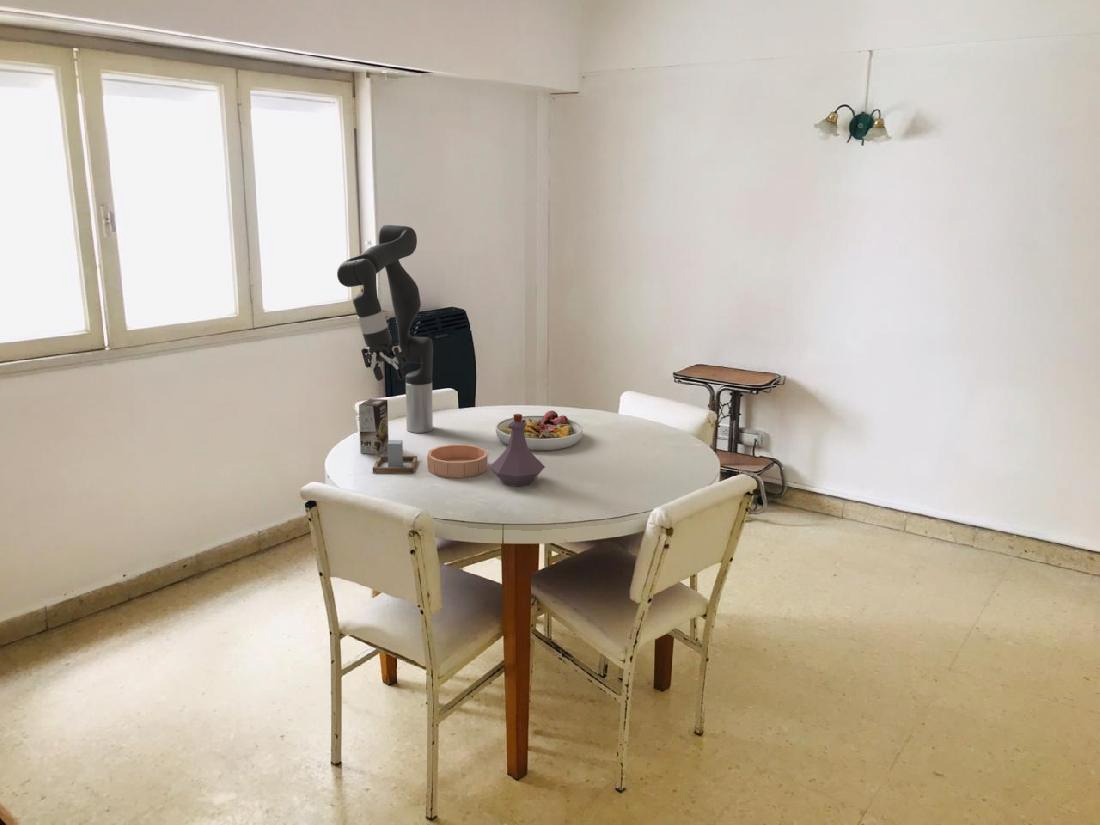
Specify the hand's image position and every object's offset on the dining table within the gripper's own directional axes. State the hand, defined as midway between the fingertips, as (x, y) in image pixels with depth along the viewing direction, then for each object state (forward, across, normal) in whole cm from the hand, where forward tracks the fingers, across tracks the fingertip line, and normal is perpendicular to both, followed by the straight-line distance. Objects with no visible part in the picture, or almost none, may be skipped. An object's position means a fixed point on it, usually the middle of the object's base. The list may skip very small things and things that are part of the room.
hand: (391, 379), depth 236 cm
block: (+27, +5, +5) cm, 28 cm away
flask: (+35, -33, -3) cm, 48 cm away
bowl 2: (+43, -16, -42) cm, 62 cm away
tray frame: (+27, +5, +5) cm, 28 cm away
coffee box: (+27, +21, -4) cm, 35 cm away
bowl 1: (+32, -12, -4) cm, 34 cm away
